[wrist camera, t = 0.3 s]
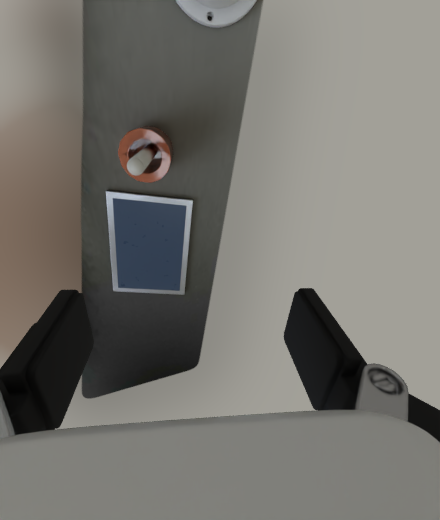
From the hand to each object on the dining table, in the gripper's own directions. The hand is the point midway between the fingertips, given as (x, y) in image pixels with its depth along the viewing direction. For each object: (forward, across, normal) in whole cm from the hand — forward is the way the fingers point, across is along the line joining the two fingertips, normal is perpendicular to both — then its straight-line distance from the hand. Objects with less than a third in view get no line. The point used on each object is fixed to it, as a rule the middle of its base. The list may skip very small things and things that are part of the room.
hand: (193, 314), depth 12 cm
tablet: (+35, +7, +14) cm, 38 cm away
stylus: (+34, +6, -3) cm, 35 cm away
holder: (+35, +6, -3) cm, 35 cm away
